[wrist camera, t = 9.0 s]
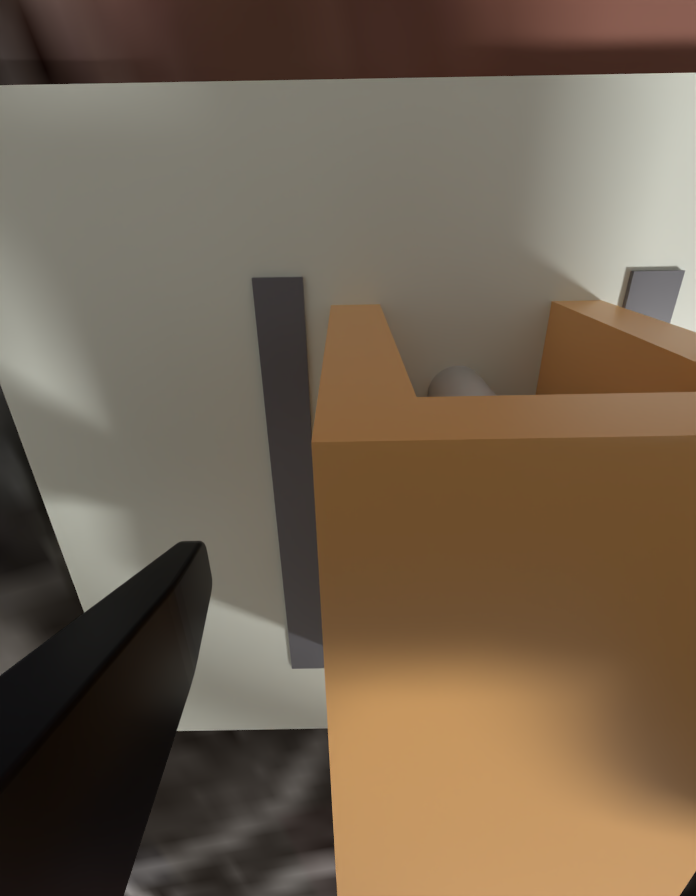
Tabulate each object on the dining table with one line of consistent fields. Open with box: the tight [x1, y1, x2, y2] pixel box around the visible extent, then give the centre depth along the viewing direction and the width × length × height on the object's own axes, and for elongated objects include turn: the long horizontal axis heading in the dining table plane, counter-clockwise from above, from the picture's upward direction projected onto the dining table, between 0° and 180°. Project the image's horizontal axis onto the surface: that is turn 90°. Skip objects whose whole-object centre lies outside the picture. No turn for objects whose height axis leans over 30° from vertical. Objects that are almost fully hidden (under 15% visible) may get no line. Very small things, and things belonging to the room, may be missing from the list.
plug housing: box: [311, 300, 696, 896], centre depth 7 cm, size 8×4×5 cm, turn 1°
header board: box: [0, 73, 696, 731], centre depth 8 cm, size 16×14×5 cm
